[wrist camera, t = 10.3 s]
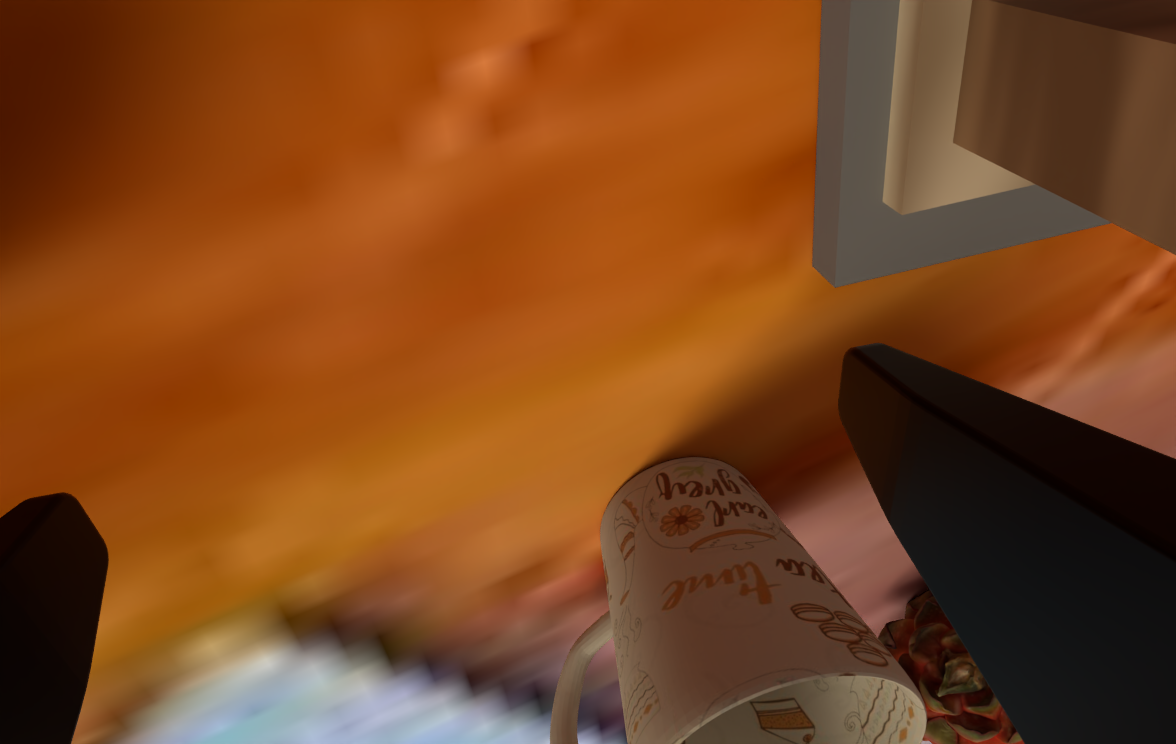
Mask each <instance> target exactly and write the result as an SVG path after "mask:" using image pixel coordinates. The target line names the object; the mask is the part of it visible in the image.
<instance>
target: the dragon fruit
mask: <svg viewBox="0 0 1176 744" xmlns="http://www.w3.org/2000/svg"><path fill="white" fill-rule="evenodd" d="M905 613H906V614H905V619H901V620H896V621H892V622H889V623H886V625H885V627H884V628H883V629H882V631H881V633H880V635H879V637H878V639H879V640H880V641H881V643H882V644H883V645H884V646H885V648H886V649H887V650H888V651H889V652H890V654H891V655H892V656H893V657H894V659H895V660H896V661H897V662H898V663H899V665H900V666H901V667H902V668H903V670H904V671H905V672H906V674H907V675H908V676H909V678H910V679H911V681H912V682H913V683H914V685H915V686H916V688H917V690H918V691H919V693H920V695H921V697H922V699H923V702H924V704H925V708H926V711H927V724H926V730H925V733H924V736H923V739H922V740H923V741H930V742H931V743H932V744H1024V742H1023V740H1022V739H1021V737H1020V735H1019V734H1018V732H1017V731H1016V729H1015V727H1014V726H1013V724H1012V722H1011V721H1010V719H1009V718H1008V716H1007V714H1006V713H1005V711H1004V710H1003V708H1002V706H1001V705H1000V703H999V701H998V700H997V698H996V697H995V695H994V693H993V692H992V690H991V688H990V687H989V685H988V684H987V682H986V680H985V679H984V677H983V675H982V674H981V672H980V671H979V669H978V667H977V666H976V664H975V662H974V661H973V659H972V658H971V656H970V654H969V653H968V651H967V649H966V648H965V646H964V645H963V643H962V641H961V640H960V638H959V636H958V635H957V633H956V632H955V630H954V628H953V627H952V625H951V623H950V622H949V620H948V619H947V617H946V615H945V614H944V612H943V610H942V609H941V607H940V606H939V604H938V602H937V601H936V599H935V597H934V596H933V594H932V593H931V591H930V590H929V591H927V592H925V593H923V594H922V596H919V597H917V598H915V599H914V600H912V601H910V602H909V603H908V604H907V606H906V612H905Z"/></svg>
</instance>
